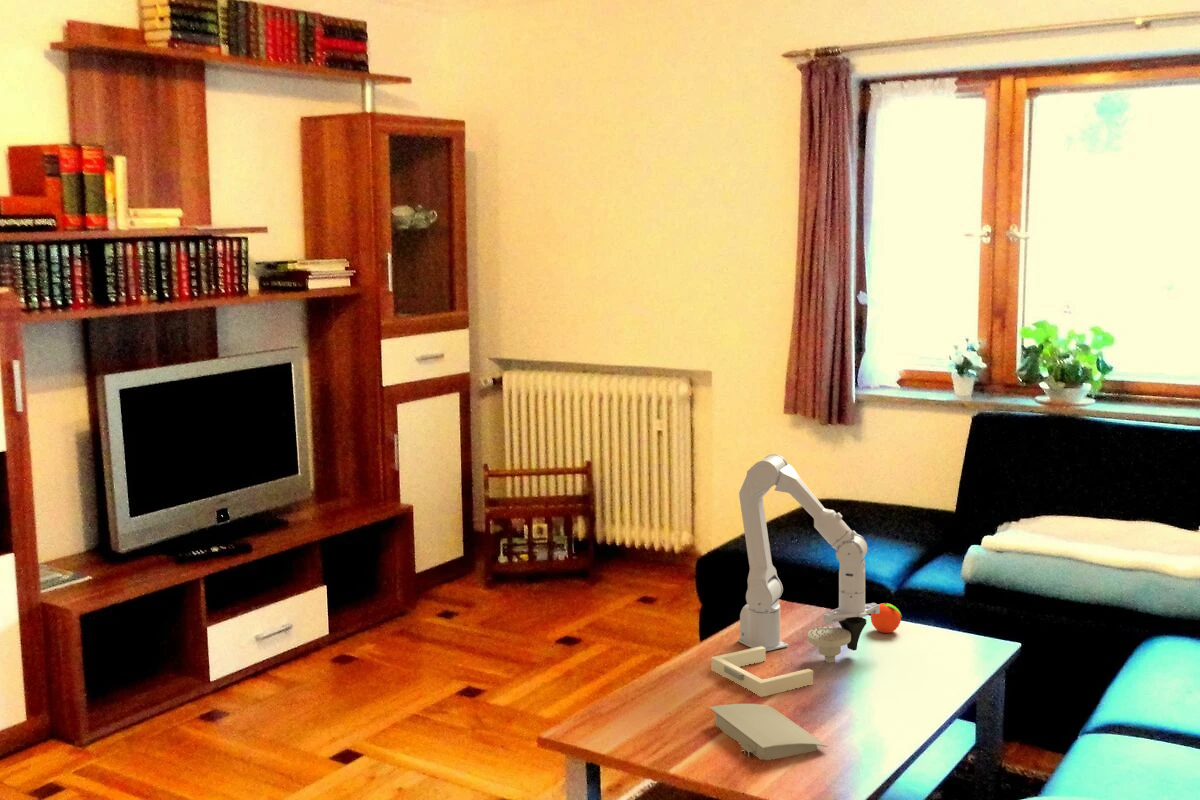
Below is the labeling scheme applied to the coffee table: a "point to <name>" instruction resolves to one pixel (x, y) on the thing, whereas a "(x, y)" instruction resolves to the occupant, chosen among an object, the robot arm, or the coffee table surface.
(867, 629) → the coffee table surface
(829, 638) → the showerhead
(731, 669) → the dock
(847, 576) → the robot arm
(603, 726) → the coffee table surface
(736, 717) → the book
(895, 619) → the clementine
